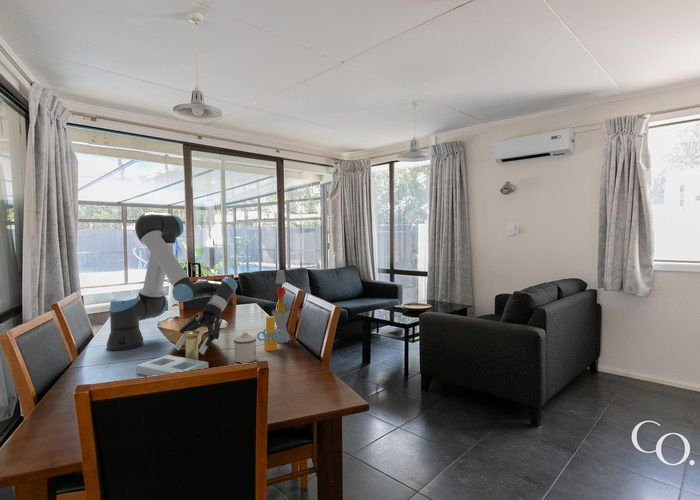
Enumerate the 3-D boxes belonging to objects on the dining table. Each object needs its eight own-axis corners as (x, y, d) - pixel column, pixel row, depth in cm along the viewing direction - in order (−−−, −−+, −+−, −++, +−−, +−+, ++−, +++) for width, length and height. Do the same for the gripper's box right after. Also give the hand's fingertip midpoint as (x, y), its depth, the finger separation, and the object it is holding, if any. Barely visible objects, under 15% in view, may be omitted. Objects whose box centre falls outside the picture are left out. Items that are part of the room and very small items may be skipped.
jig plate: (136, 373, 144) (136, 365, 144) (168, 362, 157) (168, 354, 157) (178, 382, 135) (178, 374, 135) (208, 369, 148) (208, 362, 148)
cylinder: (276, 354, 167) (276, 320, 167) (254, 352, 170) (253, 319, 169) (286, 346, 179) (286, 314, 179) (265, 345, 182) (265, 313, 181)
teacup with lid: (259, 360, 159) (259, 333, 158) (238, 365, 153) (238, 336, 153) (249, 353, 168) (248, 327, 168) (228, 357, 163) (228, 330, 163)
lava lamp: (293, 341, 188) (293, 270, 186) (276, 344, 183) (275, 271, 181) (285, 337, 195) (285, 269, 194) (269, 340, 190) (268, 270, 189)
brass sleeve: (180, 362, 157) (180, 333, 156) (192, 357, 162) (192, 330, 162) (191, 364, 154) (191, 335, 154) (203, 359, 160) (202, 331, 159)
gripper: (241, 315, 167) (216, 359, 154) (198, 310, 177) (172, 351, 164) (232, 305, 162) (206, 349, 149) (189, 301, 172) (161, 342, 159)
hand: (188, 350), depth 156 cm, fingers open, 13 cm apart
